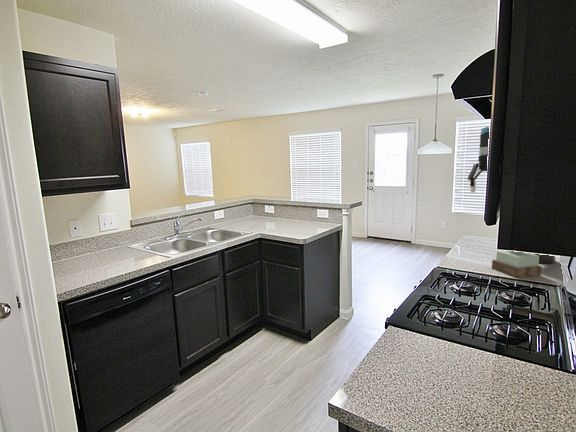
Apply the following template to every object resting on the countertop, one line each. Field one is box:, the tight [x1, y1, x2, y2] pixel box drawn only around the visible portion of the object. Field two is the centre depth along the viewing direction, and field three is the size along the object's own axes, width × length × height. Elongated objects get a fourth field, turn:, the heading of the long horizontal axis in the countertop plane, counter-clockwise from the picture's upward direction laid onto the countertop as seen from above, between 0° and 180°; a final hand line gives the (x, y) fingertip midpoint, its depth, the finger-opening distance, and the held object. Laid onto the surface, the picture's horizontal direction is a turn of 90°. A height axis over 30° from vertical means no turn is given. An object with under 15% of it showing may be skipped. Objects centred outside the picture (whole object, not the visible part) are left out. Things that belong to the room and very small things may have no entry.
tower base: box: [491, 259, 542, 279], centre depth 160 cm, size 14×14×5 cm
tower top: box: [495, 250, 540, 268], centre depth 159 cm, size 12×12×5 cm
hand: (483, 192), depth 188 cm, fingers open, 13 cm apart
